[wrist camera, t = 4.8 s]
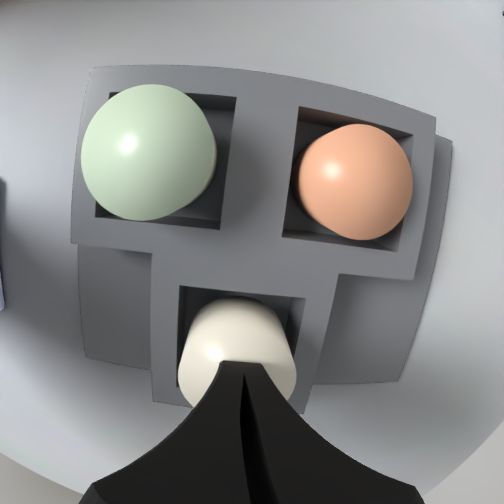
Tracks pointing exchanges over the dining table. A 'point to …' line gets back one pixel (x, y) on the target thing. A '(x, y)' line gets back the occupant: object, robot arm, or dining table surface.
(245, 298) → the cream button
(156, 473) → the robot arm
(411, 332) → the panel
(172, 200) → the sage button
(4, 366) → the dining table surface
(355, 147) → the peach rounded dome
